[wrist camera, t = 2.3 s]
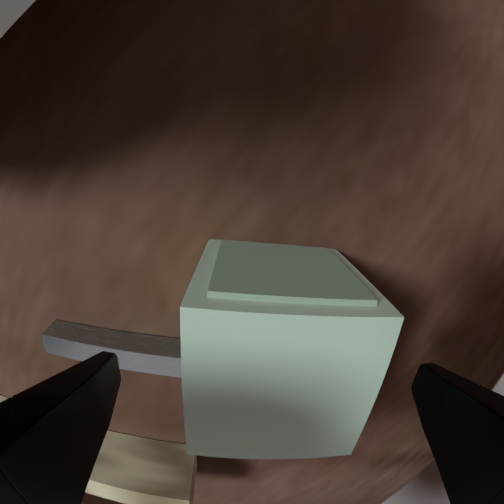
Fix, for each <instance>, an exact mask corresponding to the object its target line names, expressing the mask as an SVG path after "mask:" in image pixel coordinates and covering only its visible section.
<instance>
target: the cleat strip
mask: <svg viewBox="0 0 504 504" xmlns="http://www.w3.org/2000/svg"><path fill="white" fill-rule="evenodd" d="M41 335H42V339H43V343H44V347H45V351H46V353H50V354H54V355H58V356H62V357H66V358H70V359H75V360H79V361H84V360H86V359H88V358H90V357H92V356H94V355H96V354H98V353H99V352H102V351H107V352H112V353H115V354H116V355H117V357H118V363H119V369H125V370H131V371H137V372H143V373H150V374H157V375H164V376H172V377H181V378H182V372H181V339H180V338H172V337H163V336H155V335H147V334H139V333H132V332H125V331H118V330H112V329H105V328H99V327H93V326H88V325H82V324H77V323H71V322H66V321H61V320H55V321H54V322H53V323H52V324H51V325H50V326H49V327H48V328H47V329H46V330H45V331H44V332H43V333H42V334H41Z"/></svg>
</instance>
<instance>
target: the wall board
mask: <svg viewBox="0 0 504 504" xmlns="http://www.w3.org/2000/svg"><path fill="white" fill-rule="evenodd" d="M6 399H8V398H7V397H4V396H2V395H0V402H2V401H4V400H6ZM196 469H197V455H189V454H187V450H186V444H180V443H173V442H166V441H159V440H153V439H147V438H142V437H136V436H131V435H126V434H122V433H117V432H113V431H108V430H107V433H106V436H105V438H104V441H103V444H102V446H101V449H100V451H99V454H98V457H97V460H96V462H95V465H94V468H93V471H92V473H91V476H90V479H89V482H88V485H87V488H86V491H85V492H86V493H89V494H92V495H95V496H99V497H102V498H106V499H109V500H113V501H117V502H121V503H125V504H193V495H194V486H195V477H196Z"/></svg>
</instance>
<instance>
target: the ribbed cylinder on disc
mask: <svg viewBox="0 0 504 504" xmlns="http://www.w3.org/2000/svg"><path fill="white" fill-rule="evenodd" d="M35 1H36V0H0V38H1V37H2V36H3V35H4V34H5V33H6V31H7V30H8V29H9V28H10V27H11V26H12V25H13V24H14V23H15V22H16V21H17V19H18V18H19V17H20V16H21V15H22V14H23V13H24V12H25V11H26V10H27V9H28V8H29V7H30V6H31V5H32V4H33V3H34V2H35Z"/></svg>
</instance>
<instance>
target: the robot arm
mask: <svg viewBox="0 0 504 504" xmlns="http://www.w3.org/2000/svg"><path fill="white" fill-rule="evenodd" d="M120 382H121V375H120V369H119V363H118V357H117V355H116V354H115V353H112V352H107V351H102V352H99V353H98V354H96V355H94V356H92V357H90V358H88V359H86V360H84V361H82V362H80V363H78V364H76V365H74V366H72V367H70V368H68V369H66V370H64V371H62V372H60V373H58V374H56V375H54V376H52V377H50V378H48V379H46V380H44V381H42V382H40V383H38V384H36V385H34V386H32V387H30V388H28V389H26V390H24V391H22V392H20V393H18V394H16V395H14V396H12V398H8V399H6V400H4V401H2V402H0V504H81V503H82V500H83V497H84V494H85V491H86V488H87V485H88V482H89V479H90V476H91V473H92V471H93V468H94V465H95V462H96V460H97V457H98V454H99V451H100V449H101V446H102V444H103V441H104V438H105V436H106V433H107V430H108V427H109V424H110V421H111V417H112V413H113V409H114V405H115V401H116V398H117V394H118V390H119V386H120ZM411 389H412V394H413V397H414V400H415V404H416V407H417V410H418V414H419V417H420V421H421V424H422V427H423V430H424V433H425V435H426V438H427V440H428V443H429V445H430V448H431V451H432V453H433V456H434V458H435V461H436V464H437V466H438V469H439V472H440V475H441V477H442V480H443V483H444V486H445V489H446V492H447V495H448V498H449V501H450V504H504V396H502V395H500V394H498V393H496V392H493V391H491V390H489V389H487V388H485V387H483V386H481V385H479V384H476V383H474V382H472V381H470V380H468V379H466V378H464V377H462V376H459V375H457V374H455V373H453V372H451V371H449V370H447V369H445V368H443V367H441V366H439V365H436V364H434V363H424V364H421V365H420V367H419V369H418V371H417V373H416V376H415V378H414V381H413V383H412V388H411Z"/></svg>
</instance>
